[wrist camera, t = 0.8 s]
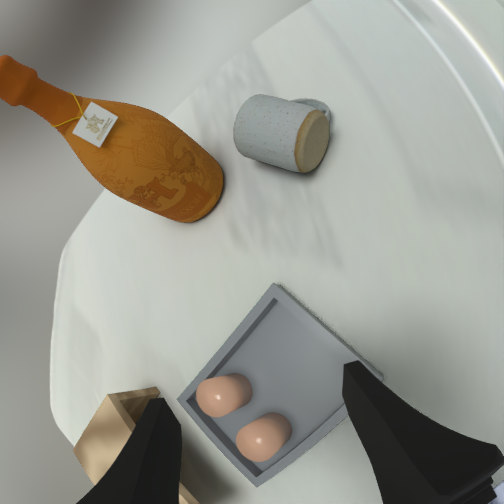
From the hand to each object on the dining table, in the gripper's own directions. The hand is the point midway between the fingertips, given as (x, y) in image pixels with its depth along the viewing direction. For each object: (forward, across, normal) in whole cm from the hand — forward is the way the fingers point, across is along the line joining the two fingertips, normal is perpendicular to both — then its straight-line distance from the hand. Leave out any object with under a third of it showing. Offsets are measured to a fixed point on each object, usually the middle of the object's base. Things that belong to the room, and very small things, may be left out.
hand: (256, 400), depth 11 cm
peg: (+14, +3, +16) cm, 21 cm away
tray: (+13, -1, +16) cm, 20 cm away
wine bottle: (+32, +4, -2) cm, 32 cm away
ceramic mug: (+28, -10, -7) cm, 30 cm away
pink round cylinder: (+10, 0, +18) cm, 21 cm away
